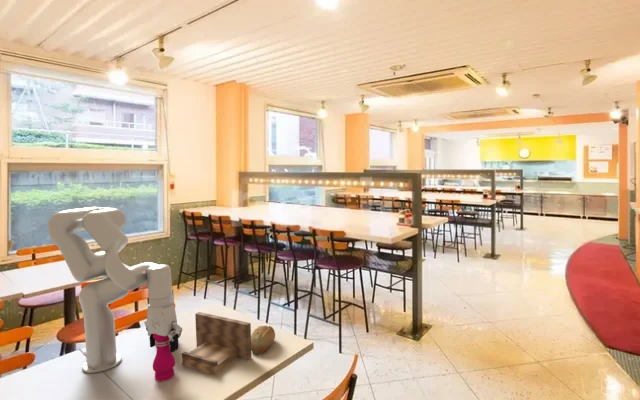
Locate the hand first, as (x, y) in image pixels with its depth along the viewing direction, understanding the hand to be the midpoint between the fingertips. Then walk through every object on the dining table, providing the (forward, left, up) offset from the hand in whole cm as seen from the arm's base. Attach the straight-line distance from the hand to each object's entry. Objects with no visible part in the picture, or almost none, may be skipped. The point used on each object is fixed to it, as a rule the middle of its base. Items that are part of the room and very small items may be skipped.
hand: (164, 348), depth 124 cm
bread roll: (+19, +32, -11) cm, 39 cm away
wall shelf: (+7, +15, -10) cm, 20 cm away
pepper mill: (-1, 0, -11) cm, 11 cm away
